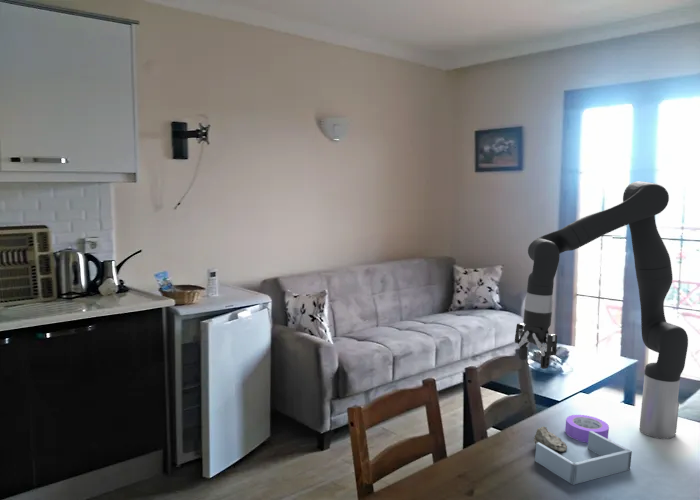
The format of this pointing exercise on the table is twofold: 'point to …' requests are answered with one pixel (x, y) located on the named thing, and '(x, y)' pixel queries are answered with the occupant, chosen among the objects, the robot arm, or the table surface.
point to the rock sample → (549, 439)
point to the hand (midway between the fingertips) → (533, 363)
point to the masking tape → (585, 427)
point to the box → (608, 463)
